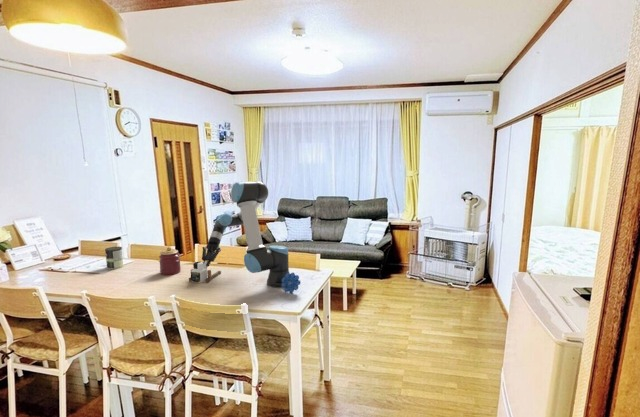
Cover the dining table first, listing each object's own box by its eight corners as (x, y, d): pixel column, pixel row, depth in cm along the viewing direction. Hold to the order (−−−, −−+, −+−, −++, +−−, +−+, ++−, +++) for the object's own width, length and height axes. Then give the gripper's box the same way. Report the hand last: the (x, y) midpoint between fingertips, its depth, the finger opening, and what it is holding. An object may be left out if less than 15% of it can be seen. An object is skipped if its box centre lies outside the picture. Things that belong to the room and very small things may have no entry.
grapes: (303, 290, 191) (302, 270, 190) (299, 295, 185) (298, 274, 183) (284, 288, 194) (283, 269, 193) (279, 293, 188) (279, 272, 186)
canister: (166, 276, 218) (164, 250, 215) (156, 273, 226) (154, 247, 223) (184, 271, 228) (183, 246, 226) (174, 268, 236) (173, 243, 233)
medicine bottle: (190, 282, 207) (189, 263, 206) (198, 278, 214) (197, 260, 212) (200, 283, 205) (199, 264, 203) (207, 279, 212) (206, 261, 210)
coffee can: (105, 270, 232) (103, 250, 230) (108, 266, 241) (106, 247, 240) (122, 268, 236) (121, 249, 235) (124, 264, 246) (122, 245, 244)
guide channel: (202, 272, 225) (202, 263, 224) (221, 273, 223) (220, 264, 222) (188, 281, 209) (187, 271, 208) (208, 282, 206) (207, 272, 205)
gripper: (226, 242, 229) (215, 273, 215) (208, 241, 232) (197, 272, 218) (222, 236, 223) (210, 268, 209) (204, 236, 226) (192, 267, 212)
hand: (203, 270), depth 214 cm, fingers closed
